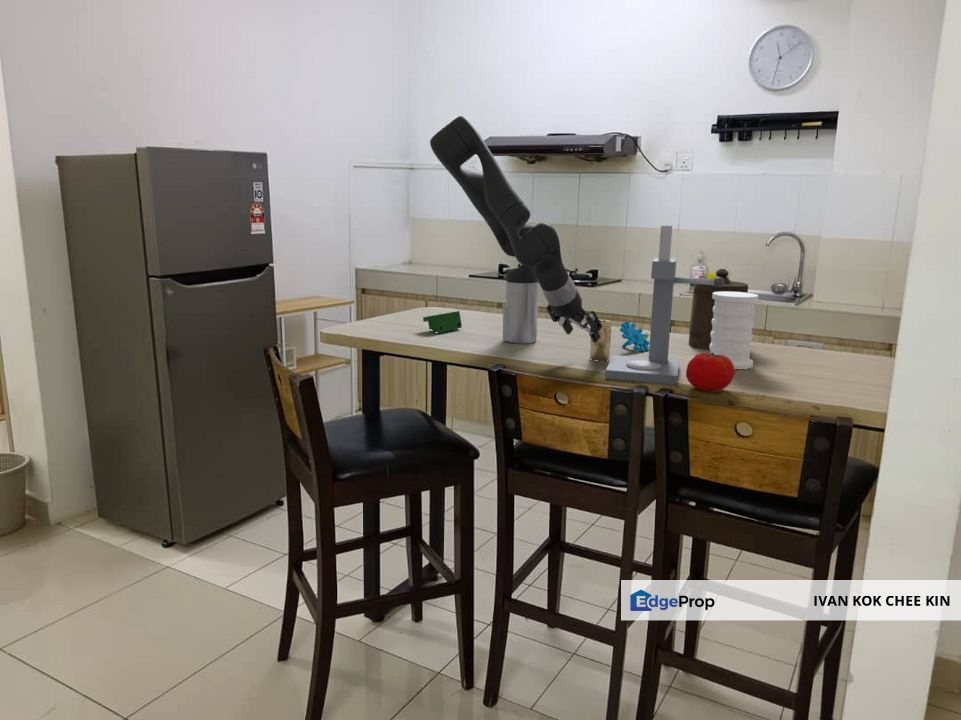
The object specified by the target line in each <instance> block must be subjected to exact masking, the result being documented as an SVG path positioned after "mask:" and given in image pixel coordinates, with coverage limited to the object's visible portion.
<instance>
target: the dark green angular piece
mask: <svg viewBox="0 0 961 720" xmlns="http://www.w3.org/2000/svg"><path fill="white" fill-rule="evenodd" d="M461 319H462V318H461V313H460V310H456V311H452V312H446V313H440V314H435V315H429V316H423V317H422V321H423V323H425V322H428V327H429V330H430V329H432V330H433V331H432V332H433V333H434V332H438V334H442V333H441V332H443V333H447V332H446V331H448V332H450V331H449V330H453V331H455V330H454V329H458V328H461V329H462V327H463V324H462V320H461ZM458 330H459V329H458Z"/></svg>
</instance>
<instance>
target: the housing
mask: <svg viewBox="0 0 961 720" xmlns="http://www.w3.org/2000/svg"><path fill="white" fill-rule="evenodd" d="M599 321H600V323H601V324H602V326H603V327H602V328H601V329H600V331H599V335H600V338H599V340H598V341H597V342H596V343H595V342H593V341H592V339H591V338H590V351H589V360H590V359H592V360H591V361H593V360H598V361H597V362H600V361H603V362H608V361H607V360H609V361H610V353H611V338H612V337H611V336H612V322H613V321H611V320H608V319H599Z"/></svg>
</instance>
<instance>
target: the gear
mask: <svg viewBox="0 0 961 720" xmlns="http://www.w3.org/2000/svg"><path fill="white" fill-rule="evenodd" d="M636 327H637V324H636V323H634V322H632V323H631V321H628V320H626V321H625V322H622V323H621V324H620V328H619V332H620V333H621V337H622V340H625V339H626V342H624V343H623V344H622V345H621V348H623V349H626V347H628V346H632V344H633V345H634V346H632V348H633V349H634V351H638V350H639V351H640V352H641V351H644V352H646V351H648V350H649V346H650V340H647V339H648V338H649V337H650V335H649V333H648V332H645V333H644V334H643V333H642V332H643V329H642V327H639V328H638V329H637V328H636Z"/></svg>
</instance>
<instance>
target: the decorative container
mask: <svg viewBox="0 0 961 720" xmlns="http://www.w3.org/2000/svg"><path fill="white" fill-rule="evenodd" d="M712 298H713V299H714V300H715V305H714V307H713V313H714V316H713V319H712V325H713V327H712V331H711V334H710V335H711V343H710V346H709V348H710V350H709V351H710V352H709V353H712V352H713V353H714V354H715V355H723V356H726V357H728V358H729V359H730V360H731V361H732V363H733V365H734V369H745V370H748V369H747V368H750V369H752V368H753V367H754V361H753V360H752V359H751V358H750V356H751V355H750V354H751V352H752V345H751V344H752V340H753V338H754V336H753V335H754V334H753V328H754V326H755V323H754V322H755V321H754V317H755V314H756V308H755V305H756V302H758V301H759V294H756V293H752V292H747V293H745V292H729V291H723V292H713V295H712ZM751 367H752V368H751Z"/></svg>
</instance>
